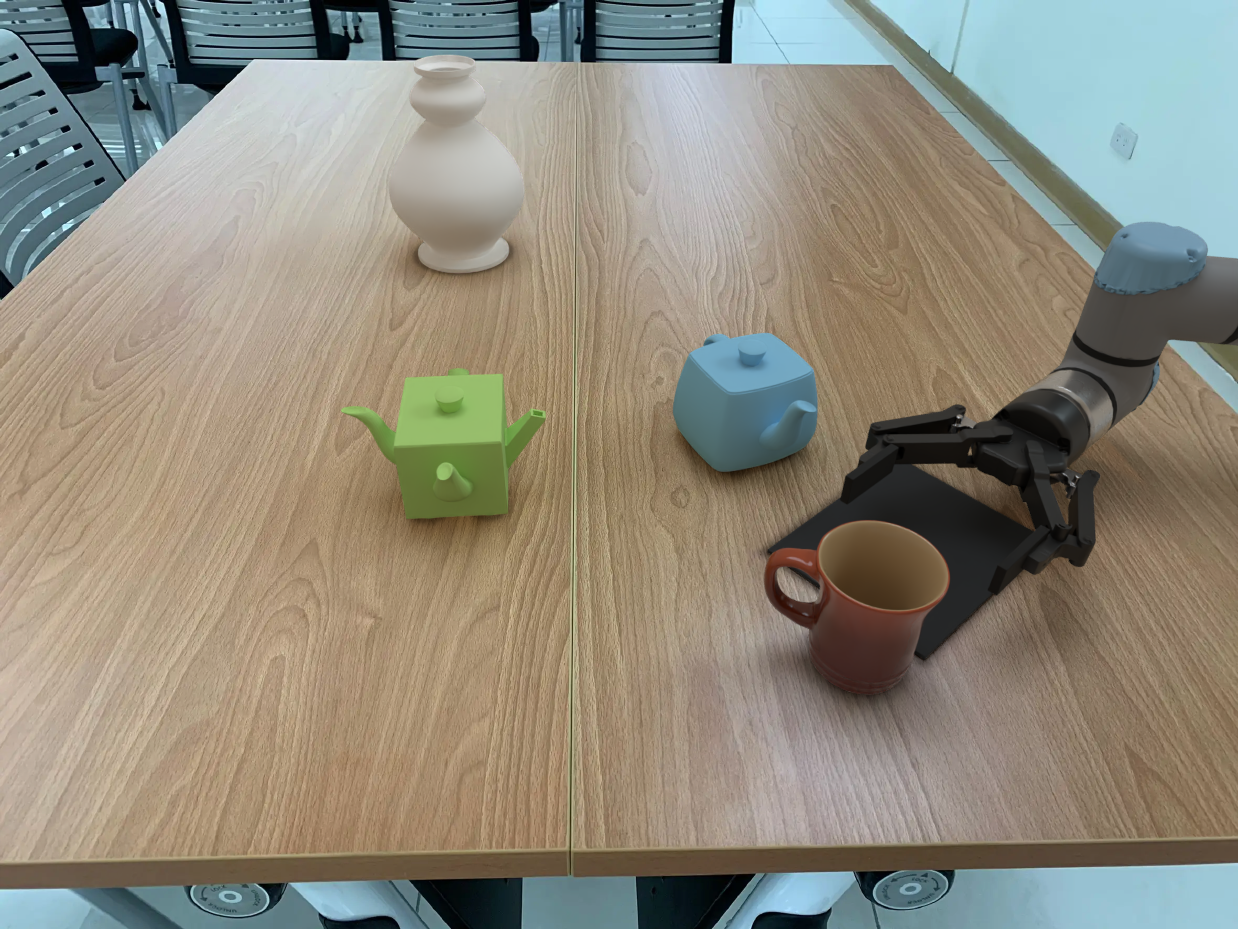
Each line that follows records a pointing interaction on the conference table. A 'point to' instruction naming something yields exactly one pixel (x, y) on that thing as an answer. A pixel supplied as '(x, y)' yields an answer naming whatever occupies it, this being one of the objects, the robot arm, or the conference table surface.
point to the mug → (863, 601)
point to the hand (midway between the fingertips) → (917, 533)
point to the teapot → (745, 401)
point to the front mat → (946, 521)
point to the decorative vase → (455, 172)
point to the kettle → (452, 444)
